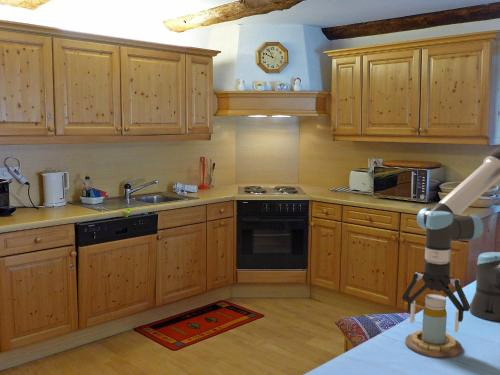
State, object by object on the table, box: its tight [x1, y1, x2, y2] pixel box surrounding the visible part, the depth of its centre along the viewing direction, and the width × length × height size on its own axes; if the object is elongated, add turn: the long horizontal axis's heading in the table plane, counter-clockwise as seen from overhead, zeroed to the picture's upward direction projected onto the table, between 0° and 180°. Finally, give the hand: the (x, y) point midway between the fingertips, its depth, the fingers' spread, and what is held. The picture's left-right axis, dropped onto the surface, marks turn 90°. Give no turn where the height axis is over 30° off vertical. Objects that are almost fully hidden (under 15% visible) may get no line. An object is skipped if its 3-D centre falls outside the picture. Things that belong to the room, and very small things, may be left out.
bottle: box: [422, 293, 448, 345], centre depth 167 cm, size 7×7×15 cm
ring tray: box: [404, 330, 463, 359], centre depth 168 cm, size 17×17×2 cm
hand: (434, 326), depth 167 cm, fingers open, 13 cm apart
